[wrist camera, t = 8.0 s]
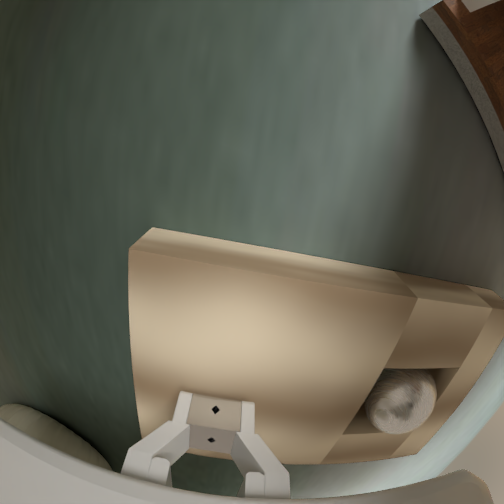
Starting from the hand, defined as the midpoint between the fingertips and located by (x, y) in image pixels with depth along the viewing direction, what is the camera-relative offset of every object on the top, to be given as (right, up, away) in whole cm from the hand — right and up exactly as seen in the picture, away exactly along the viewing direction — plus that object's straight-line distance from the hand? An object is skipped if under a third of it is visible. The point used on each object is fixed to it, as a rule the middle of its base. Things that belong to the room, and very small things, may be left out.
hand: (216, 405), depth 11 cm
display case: (+16, +15, -2) cm, 22 cm away
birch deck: (+5, 0, +3) cm, 6 cm away
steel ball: (+9, -1, +2) cm, 9 cm away
